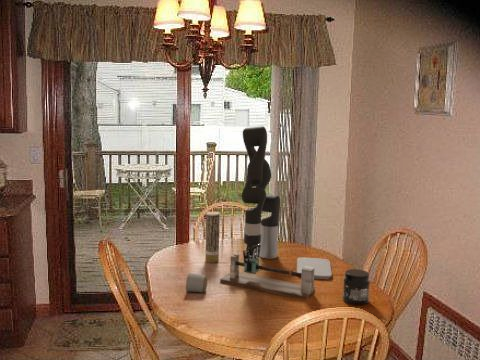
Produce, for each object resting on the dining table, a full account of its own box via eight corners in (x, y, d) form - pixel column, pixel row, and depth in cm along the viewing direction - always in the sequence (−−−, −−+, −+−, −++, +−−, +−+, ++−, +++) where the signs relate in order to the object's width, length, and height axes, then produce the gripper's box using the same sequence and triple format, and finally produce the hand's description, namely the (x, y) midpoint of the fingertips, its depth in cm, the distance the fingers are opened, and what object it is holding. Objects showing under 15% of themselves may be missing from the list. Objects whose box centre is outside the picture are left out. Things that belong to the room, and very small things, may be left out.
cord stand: (232, 274, 216) (233, 250, 214) (315, 290, 198) (317, 265, 196) (220, 282, 205) (220, 257, 203) (306, 300, 187) (308, 273, 186)
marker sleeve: (248, 269, 207) (249, 257, 206) (258, 271, 205) (259, 258, 204) (244, 272, 203) (244, 259, 202) (254, 274, 201) (254, 261, 200)
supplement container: (346, 293, 196) (348, 266, 194) (371, 299, 190) (373, 271, 189) (338, 302, 187) (340, 273, 185) (364, 308, 181) (366, 279, 180)
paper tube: (202, 261, 233) (203, 213, 229) (209, 258, 239) (210, 211, 235) (214, 263, 230) (215, 215, 226) (221, 260, 236) (222, 212, 232)
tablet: (328, 263, 237) (329, 259, 237) (332, 281, 211) (332, 276, 211) (297, 261, 239) (297, 256, 239) (296, 278, 213) (296, 273, 213)
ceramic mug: (204, 295, 190) (205, 277, 189) (185, 294, 191) (185, 276, 190) (208, 286, 201) (208, 269, 200) (190, 285, 201) (190, 268, 200)
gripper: (251, 227, 210) (250, 263, 212) (237, 234, 197) (236, 273, 199) (266, 230, 206) (265, 266, 209) (253, 237, 194) (252, 276, 196)
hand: (251, 269), depth 204 cm, fingers closed on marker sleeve, 4 cm apart
